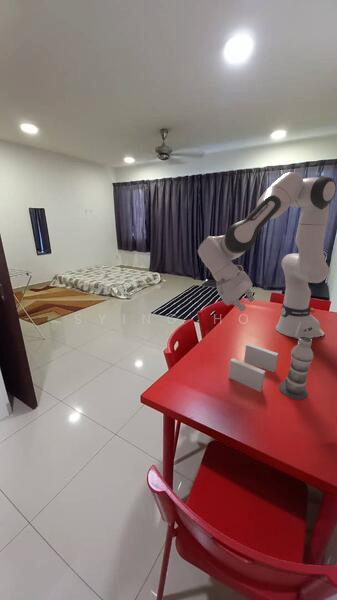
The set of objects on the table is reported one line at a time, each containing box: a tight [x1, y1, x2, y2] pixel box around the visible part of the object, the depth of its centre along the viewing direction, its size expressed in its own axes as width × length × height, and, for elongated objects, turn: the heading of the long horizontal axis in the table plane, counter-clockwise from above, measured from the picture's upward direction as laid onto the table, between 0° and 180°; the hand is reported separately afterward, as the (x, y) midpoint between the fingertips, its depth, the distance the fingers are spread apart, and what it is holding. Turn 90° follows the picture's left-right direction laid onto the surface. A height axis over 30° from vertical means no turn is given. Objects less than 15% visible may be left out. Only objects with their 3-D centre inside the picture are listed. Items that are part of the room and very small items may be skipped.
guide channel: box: [228, 342, 279, 393], centre depth 91 cm, size 12×16×8 cm
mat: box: [278, 380, 309, 401], centre depth 84 cm, size 9×9×1 cm
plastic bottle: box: [284, 336, 314, 394], centre depth 80 cm, size 6×7×20 cm
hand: (248, 305), depth 91 cm, fingers open, 8 cm apart
